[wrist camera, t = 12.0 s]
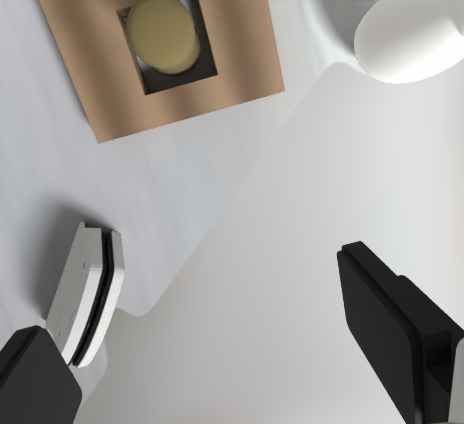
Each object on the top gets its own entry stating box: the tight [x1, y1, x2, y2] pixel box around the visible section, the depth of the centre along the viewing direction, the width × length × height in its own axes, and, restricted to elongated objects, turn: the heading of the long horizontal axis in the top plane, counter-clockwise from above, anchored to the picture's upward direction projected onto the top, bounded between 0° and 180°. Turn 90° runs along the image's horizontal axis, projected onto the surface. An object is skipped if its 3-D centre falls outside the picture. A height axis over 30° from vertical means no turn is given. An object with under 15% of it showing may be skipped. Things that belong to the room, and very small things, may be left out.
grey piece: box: [46, 221, 125, 368], centre depth 40 cm, size 17×5×10 cm, turn 155°
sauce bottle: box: [354, 0, 464, 83], centre depth 28 cm, size 8×8×18 cm
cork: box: [126, 0, 201, 77], centre depth 29 cm, size 6×6×11 cm
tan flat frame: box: [39, 0, 285, 144], centre depth 33 cm, size 20×14×3 cm
